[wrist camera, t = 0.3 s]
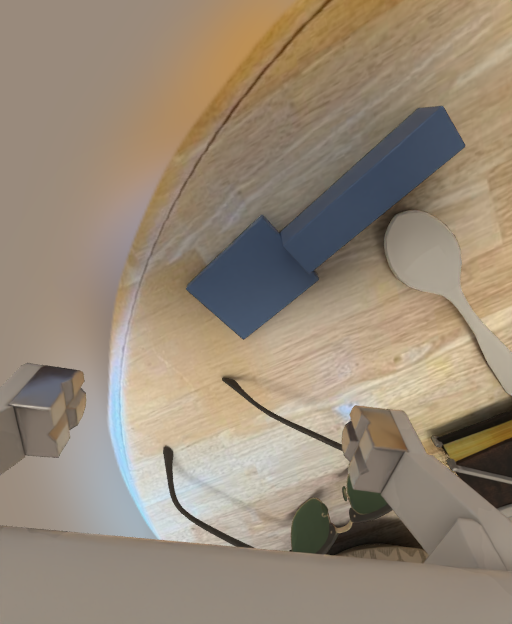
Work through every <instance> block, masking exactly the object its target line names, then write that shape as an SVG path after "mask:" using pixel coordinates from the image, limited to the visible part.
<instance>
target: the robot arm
mask: <svg viewBox="0 0 512 624" xmlns="http://www.w3.org/2000/svg"><path fill="white" fill-rule="evenodd" d="M83 383H84V374H83V372H82V371H80V370H73V369H67V368H60V367H53V366H44V365H38V364H31V363H26V364H24V365H22V366H21V367H20V368H19V369H18V370H17V371H16V372H15V373H14V374H13V375H12V376H11V377H10V378H9V379H8V380H7V381H6V382H5V383H4V384H3V385H2V386H1V387H0V475H1V474H2V473H4V472H5V471H7V470H8V469H9V468H11V467H12V466H14V465H15V464H16V463H18V462H19V461H20V460H22V459H23V458H24V457H25V455H28V456H40V457H53V458H58V457H59V456H60V454H61V452H62V451H63V449H64V447H65V446H66V444H67V442H68V441H69V439H70V433H69V430H70V429H72V428H74V427H75V426H77V425H78V424H79V422H80V420H81V418H82V416H83V413H84V410H85V406H86V393H85V392H84V391H83V390H82V388H81V386H82V384H83ZM350 417H351V420H352V421H350V422H349V423H347V424H346V425H345V427H344V430H343V433H342V449H343V453H344V456H345V457H346V458H347V459H348V460H349V461H350V464H349V467H348V472H349V476H350V480H351V483H352V487H353V489H354V490H361V491H368V492H376V493H381V496H382V497H383V498H384V499H385V501H386V502H387V503H388V504H389V506H390V507H391V508H392V509H393V511H394V512H395V513H396V514H397V516H398V517H399V518H400V520H401V521H402V522H403V523H404V525H405V526H406V527H407V528H408V530H409V531H410V532H411V533H412V535H413V536H414V537H415V538H416V540H417V541H418V542H419V543H420V545H421V546H422V547H423V549H424V550H425V551H426V552H427V554H428V555H429V556H428V557H427V559H426V560H425V561H424V563H412V562H401V561H389V560H378V559H367V558H356V557H345V556H334V555H323V554H312V553H300V552H289V551H278V550H267V549H256V548H245V547H233V546H222V545H211V544H200V543H189V542H178V541H167V540H155V539H144V538H133V537H123V536H111V535H100V534H89V533H78V532H67V531H56V530H44V529H34V528H23V527H12V526H0V624H512V521H510V520H509V519H508V518H507V517H506V516H505V515H503V514H502V513H501V512H500V511H499V510H497V509H496V508H495V507H494V506H493V505H491V504H490V503H489V502H488V501H487V500H485V499H484V498H483V497H482V496H481V495H479V494H478V493H477V492H476V491H475V490H473V489H472V488H471V487H470V486H469V485H467V484H466V483H465V482H464V481H463V480H461V479H460V478H459V477H458V476H457V475H455V474H454V473H453V472H452V471H451V470H449V469H448V468H447V467H446V466H445V465H443V464H442V463H441V462H440V461H439V460H437V459H436V458H435V457H434V456H433V455H427V453H426V451H425V449H424V447H423V445H422V443H421V441H420V439H419V437H418V435H417V434H416V432H415V430H414V428H413V426H412V424H411V422H410V420H409V418H408V416H407V414H406V413H405V412H404V411H401V410H392V409H382V408H373V407H365V406H356V405H355V406H354V407H353V408H352V410H351V413H350Z"/></svg>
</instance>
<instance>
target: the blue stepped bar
mask: <svg viewBox="0 0 512 624" xmlns="http://www.w3.org/2000/svg"><path fill="white" fill-rule="evenodd" d="M464 147H465V143H464V142H463V140H462V138H461V136H460V135H459V133H458V131H457V129H456V128H455V126H454V124H453V123H452V121H451V119H450V117H449V116H448V114H447V112H446V110H445V109H444V107H443V106H435V107H425V108H418V109H417V110H415V111H414V112H413V113H412V114H411V115H410V116H409V117H408V118H407V119H405V120H404V121H403V122H402V123H401V124H400V125H399V126H398V127H397V128H395V129H394V130H393V131H392V132H391V133H390V134H389V135H388V136H387V137H385V138H384V139H383V140H382V141H381V142H380V143H379V144H378V145H376V146H375V147H374V148H373V149H372V150H371V151H370V152H369V153H368V154H366V155H365V156H364V157H363V158H362V159H361V160H360V161H359V162H358V163H356V164H355V165H354V166H353V167H352V168H351V169H350V170H349V171H348V172H346V173H345V174H344V175H343V176H342V177H341V178H340V179H339V180H338V181H336V182H335V183H334V184H333V185H332V186H331V187H330V188H329V189H328V190H326V191H325V192H324V193H323V194H322V195H321V196H320V197H319V198H318V199H316V200H315V201H314V202H313V203H312V204H311V205H310V206H309V207H307V208H306V209H305V210H304V211H303V212H302V213H301V214H300V215H299V216H297V217H296V218H295V219H294V220H293V221H292V222H291V223H290V224H289V225H287V226H286V227H285V228H284V229H283V230H282V231H281V232H280V233H279V232H278V231H277V230H276V229H275V228H274V227H273V226H272V224H271V223H270V222H269V221H268V220H267V219H266V218H265V217H264V216H263V215H261V216H260V217H259V218H258V219H257V220H255V221H254V222H253V223H252V224H251V225H250V226H249V227H248V228H247V229H246V230H245V231H244V232H243V233H242V234H241V235H240V236H239V237H237V238H236V239H235V240H234V241H233V242H232V243H231V244H230V245H229V246H228V247H227V248H226V249H225V250H224V251H223V252H222V253H220V254H219V255H218V256H217V257H216V258H215V259H214V260H213V261H212V262H211V263H210V264H209V265H208V266H207V267H206V268H205V269H204V270H202V271H201V272H200V273H199V274H198V275H197V276H196V277H195V278H194V279H193V280H192V281H191V282H190V283H189V284H188V285H187V288H186V290H187V291H188V292H190V293H191V294H192V295H193V296H194V297H195V298H196V299H198V300H199V301H200V302H201V303H202V304H203V305H204V306H205V307H207V308H208V309H209V310H210V311H211V312H212V313H213V314H215V315H216V316H217V317H218V318H219V319H220V320H221V321H223V322H224V323H225V324H226V325H227V326H228V327H229V328H231V329H232V330H233V331H234V332H235V333H236V334H237V335H239V336H240V337H241V338H242V339H243V340H244V339H245V338H247V337H248V336H249V335H250V334H252V333H253V332H254V331H255V330H257V329H258V328H259V327H260V326H262V325H263V324H264V323H265V322H267V321H268V320H269V319H270V318H272V317H273V316H274V315H276V314H277V313H278V312H279V311H281V310H282V309H283V308H284V307H286V306H287V305H288V304H289V303H291V302H292V301H293V300H294V299H296V298H297V297H298V296H299V295H301V294H302V293H303V292H304V291H306V290H307V289H308V288H309V287H311V286H312V285H313V284H314V283H316V282H317V281H318V280H319V277H318V275H317V274H316V272H315V271H314V270H315V269H316V268H317V267H318V266H320V265H321V264H322V263H323V262H324V261H326V260H327V259H328V258H329V257H331V256H332V255H333V254H334V253H336V252H337V251H338V250H339V249H340V248H342V247H343V246H344V245H345V244H347V243H348V242H349V241H350V240H351V239H353V238H354V237H355V236H356V235H358V234H359V233H360V232H361V231H363V230H364V229H365V228H366V227H367V226H369V225H370V224H371V223H372V222H374V221H375V220H376V219H377V218H378V217H380V216H381V215H382V214H383V213H385V212H386V211H387V210H388V209H390V208H391V207H392V206H393V205H394V204H396V203H397V202H398V201H399V200H401V199H402V198H403V197H404V196H405V195H407V194H408V193H409V192H410V191H412V190H413V189H414V188H415V187H417V186H418V185H419V184H420V183H421V182H423V181H424V180H425V179H426V178H428V177H429V176H430V175H431V174H432V173H434V172H435V171H436V170H437V169H439V168H440V167H441V166H442V165H444V164H445V163H446V162H447V161H448V160H450V159H451V158H452V157H453V156H455V155H456V154H457V153H458V152H460V151H461V150H462V149H463V148H464Z"/></svg>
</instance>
